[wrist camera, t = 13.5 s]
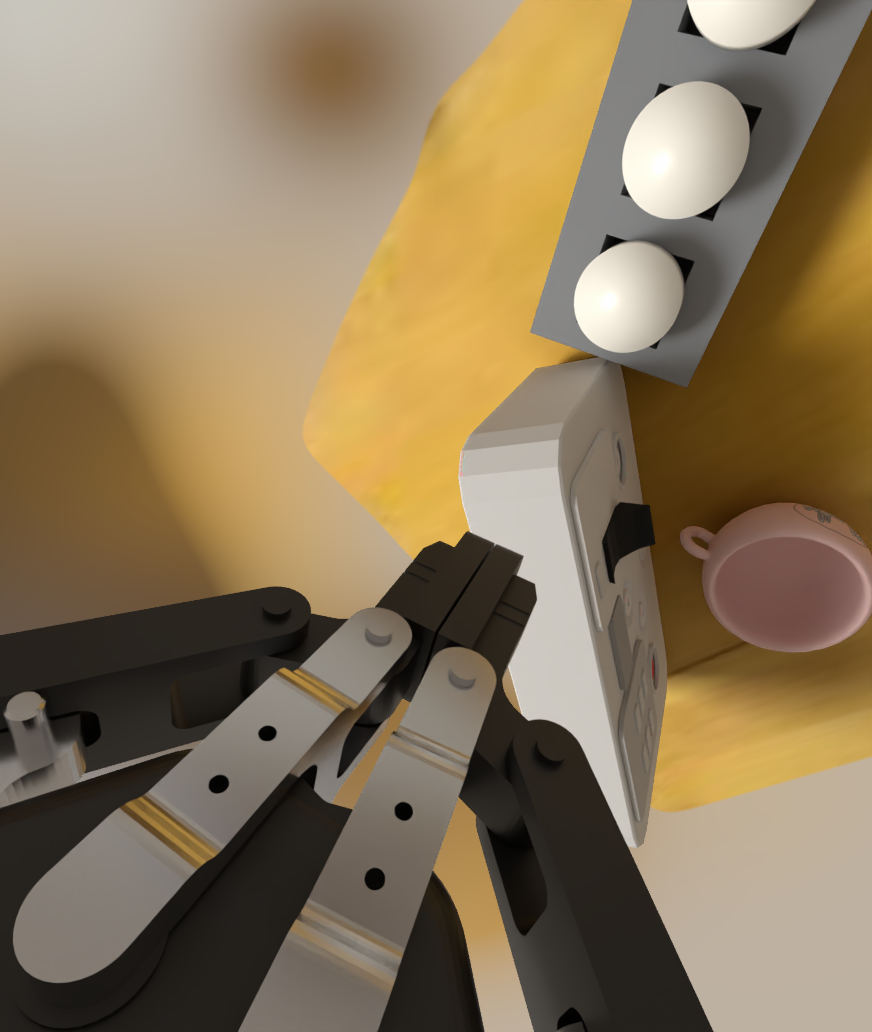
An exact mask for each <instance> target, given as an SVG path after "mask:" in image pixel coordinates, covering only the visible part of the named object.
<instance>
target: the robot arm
mask: <svg viewBox="0 0 872 1032" xmlns="http://www.w3.org/2000/svg"><path fill="white" fill-rule="evenodd" d="M494 545H495V543H493V542H491V541H489V540H487V539H484V538H482V537H480V536H478V535H475V534H473V533H471V532H469V531H467V532H466V533H465V534H464V536H463V537H462V538H461V540H460V541H459V542H458V544H457V545H456V546H455V547H452V546H450V545H448V544H446V543H444V542H441V541H439V542H436V543H434V544H432V545H430V546H427V547H425V548H423V549H422V551H421V552H420V553H419V554H418V556H417V557H416V558H415V559H414V561H413V563H411V564H410V565H409V567H408V568H407V569H406V570H405V572H404V573H403V574H402V575H401V576H400V577H399V579H398V580H397V581H396V582H395V584H394V585H393V586H392V587H391V588H390V589H389V591H388V592H387V593H386V595H385V596H384V597H383V598H382V599H381V600H380V602H379V603H378V604H377V605H376V606H375V608H367V609H363V610H360V611H359V612H357V613H355V614H354V615H353V616H351V618H349V619H336V618H331V617H326V616H321V615H316V614H311V607H310V604H309V602H308V601H307V599H306V598H305V597H304V596H303V595H302V594H300V593H299V592H297V591H295V590H292V589H290V588H285V587H267V588H261V589H256V590H250V591H244V592H239V593H234V594H228V595H222V596H217V597H211V598H206V599H200V600H194V601H189V602H183V603H178V604H172V605H166V606H161V607H155V608H150V609H144V610H139V611H133V612H128V613H123V614H116V615H111V616H105V617H100V618H94V619H89V620H84V621H78V622H73V623H66V624H61V625H55V626H50V627H44V628H38V629H33V630H28V631H22V632H16V633H11V634H5V635H0V1032H484V1027H483V1022H482V1017H481V1012H480V1007H479V1002H478V998H477V993H476V988H475V983H474V978H473V973H472V968H471V963H470V959H469V954H468V949H467V944H466V939H465V935H464V931H463V927H462V924H461V921H460V918H459V915H458V912H457V909H456V907H455V905H454V903H453V901H452V899H451V896H450V895H449V893H448V891H447V890H446V888H445V887H444V885H443V883H442V882H441V880H440V879H439V878H438V876H437V875H436V874H435V873H434V871H433V868H434V865H435V862H436V859H437V857H438V854H439V851H440V848H441V845H442V842H443V839H444V837H445V834H446V831H447V828H448V825H449V822H450V819H451V817H452V814H453V811H454V808H455V805H456V802H457V799H458V797H459V798H460V799H461V800H462V801H463V802H464V803H465V804H466V805H467V806H468V807H469V808H470V809H471V810H472V811H473V812H474V813H475V814H476V827H477V832H478V835H479V839H480V842H481V846H482V849H483V853H484V856H485V860H486V863H487V867H488V871H489V874H490V878H491V881H492V884H493V888H494V892H495V895H496V898H497V902H498V906H499V909H500V913H501V916H502V920H503V923H504V926H505V931H506V934H507V938H508V941H509V945H510V948H511V952H512V955H513V959H514V962H515V966H516V969H517V973H518V977H519V980H520V984H521V987H522V990H523V994H524V998H525V1001H526V1004H527V1008H528V1012H529V1015H530V1018H531V1022H532V1026H533V1029H534V1032H713V1030H712V1027H711V1026H710V1023H709V1021H708V1019H707V1017H706V1015H705V1013H704V1010H703V1008H702V1006H701V1004H700V1002H699V999H698V997H697V995H696V993H695V991H694V989H693V986H692V984H691V982H690V980H689V978H688V976H687V973H686V971H685V969H684V967H683V965H682V963H681V961H680V958H679V956H678V954H677V952H676V950H675V948H674V945H673V943H672V941H671V939H670V937H669V935H668V932H667V930H666V928H665V926H664V924H663V922H662V920H661V917H660V915H659V913H658V911H657V909H656V907H655V904H654V902H653V900H652V898H651V896H650V893H649V891H648V889H647V887H646V885H645V883H644V881H643V878H642V876H641V874H640V872H639V870H638V868H637V865H636V863H635V861H634V859H633V857H632V855H631V853H630V850H629V848H628V846H627V844H626V842H625V839H624V837H623V835H622V833H621V831H620V829H619V826H618V824H617V822H616V820H615V818H614V816H613V814H612V811H611V809H610V807H609V805H608V803H607V801H606V798H605V796H604V794H603V792H602V790H601V788H600V785H599V783H598V781H597V779H596V777H595V775H594V772H593V770H592V768H591V766H590V764H589V762H588V759H587V757H586V755H585V753H584V751H583V749H582V747H581V745H580V743H579V742H578V740H577V739H576V738H575V737H574V735H573V734H572V733H571V732H569V731H568V730H567V729H566V728H564V727H563V726H561V725H559V724H557V723H555V722H552V721H549V720H543V719H535V720H530V721H528V720H527V719H526V718H525V717H524V716H523V715H521V714H520V713H519V712H518V711H517V710H516V709H515V708H514V707H513V706H512V704H511V703H510V702H509V700H508V698H507V697H506V695H505V692H504V689H503V684H502V678H503V676H504V674H505V672H506V670H507V668H508V665H509V663H510V661H511V659H512V657H513V655H514V652H515V650H516V648H517V646H518V644H519V642H520V639H521V637H522V635H523V632H524V630H525V628H526V625H527V623H528V621H529V618H530V616H531V614H532V611H533V609H534V607H535V604H536V602H537V595H536V587H535V584H534V583H532V582H530V581H528V580H526V579H523V578H521V577H519V576H517V573H518V571H519V568H520V566H521V563H522V560H523V557H524V556H523V555H521V554H518V553H516V552H514V551H512V550H509V549H507V548H505V547H503V546H500V545H498V544H496V545H495V546H494ZM402 698H403V699H405V700H407V701H409V702H411V703H410V705H409V707H408V709H407V711H406V713H405V715H404V717H403V719H402V721H401V723H400V725H399V727H398V729H397V731H396V732H395V731H394V732H393V733H392V734H391V736H390V737H389V739H388V741H387V743H386V745H385V747H384V749H383V751H382V753H381V755H380V757H379V759H378V761H377V763H376V765H375V767H374V769H373V771H372V773H371V775H370V777H369V779H368V781H367V783H366V785H365V787H364V789H363V791H362V793H361V795H360V797H359V799H358V801H357V803H356V805H355V807H354V809H353V810H352V809H349V808H345V807H341V806H338V805H334V804H331V803H332V801H333V799H334V797H335V796H336V794H337V792H338V791H339V789H340V788H341V786H342V785H343V783H344V782H345V781H346V779H347V778H348V777H349V775H350V774H351V773H352V771H353V770H354V769H355V768H356V766H357V765H358V764H359V762H360V761H361V760H362V758H363V757H364V756H365V754H366V753H367V752H368V750H369V749H370V748H371V746H372V745H373V744H374V742H375V741H376V740H377V738H378V737H379V736H380V734H381V733H382V732H383V730H384V729H385V728H386V726H387V725H388V722H389V720H390V716H391V715H392V714H393V712H394V711H395V709H396V707H397V706H398V704H399V703H400V701H401V700H402ZM202 739H204V740H203V741H202V742H201V743H199V744H198V745H197V746H196V747H195V748H194V749H187V750H182V751H177V752H173V753H170V754H166V755H163V756H160V757H157V758H154V759H151V760H148V761H144V762H141V763H138V764H135V765H133V766H129V767H126V768H123V769H120V770H116V771H113V772H110V773H107V774H104V775H101V776H98V777H95V778H92V779H89V780H86V781H82V782H79V783H77V782H78V781H79V780H80V779H81V777H82V775H83V774H84V773H88V772H91V771H94V770H98V769H101V768H105V767H108V766H112V765H115V764H119V763H122V762H126V761H129V760H133V759H136V758H140V757H143V756H147V755H150V754H154V753H157V752H160V751H164V750H167V749H171V748H175V747H178V746H182V745H185V744H189V743H192V742H195V741H198V740H202Z"/></svg>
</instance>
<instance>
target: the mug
mask: <svg viewBox="0 0 872 1032" xmlns="http://www.w3.org/2000/svg"><path fill="white" fill-rule="evenodd" d="M691 537H699V538H700V539H702V540H704V541H705V542H706V543H708V545H709V547H708V550H706V549H704V548H702V547H700V546H698V545H696V544H695V543H694V542H693V540H692V538H691ZM680 542H681V544H682V546H683V548H684V549H685V550H686V551H687V552H689V553H690V554H691V555H693V556H695V557H697V558H700V559H704V562H703V570H702V585H703V592H704V596H705V599H706V602H707V604H708V607H709V609H710V611H711V612H712V614H713V615H714V616H715V618H716V619H717V621H718V622H719V623H720V624H721V625H723V626H724V627H725V628H726V629H727V630H728V631H729V632H731V633H732V634H734V635H735V636H737V637H739V638H740V639H742V640H743V641H746V642H748V643H750V644H753V645H755V646H758V647H761V648H765V649H769V650H773V651H781V652H809V651H814V650H819V649H824V648H827V647H830V646H832V645H835V644H838V643H840V642H842V641H843V640H845V639H847V638H848V637H850V636H852V635H853V634H855V633H856V632H857V631H858V630H859V629H860V628H861V627H862V626H863V625H864V624H865V623H866V622H867V620H868V619H869V617H870V616H871V614H872V555H871V552H870V550H869V549H868V547H867V546H866V544H865V543H864V541H863V540H862V538H861V537H860V536H859V535H858V534H857V533H856V532H855V531H854V530H853V529H852V528H851V527H850V526H849V525H848V524H847V523H845V522H844V521H842V520H841V519H839V518H837V517H835V516H834V515H832V514H830V513H828V512H825V511H823V510H820V509H817V508H814V507H811V506H809V505H803V504H797V503H773V504H767V505H762V506H759V507H756V508H753V509H750V510H748V511H746V512H744V513H742V514H741V515H739V516H737V517H735V518H734V519H732V520H731V521H730V522H728V523H727V524H726V525H725V526H724V527H723V528H721V529H720V530H719V532H718V533H717V534H716V535H714V534H712V533H711V532H709V531H708V530H706V529H704V528H702V527H698V526H689V527H686V528H685V529H683V530H682V531H681V532H680Z"/></svg>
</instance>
